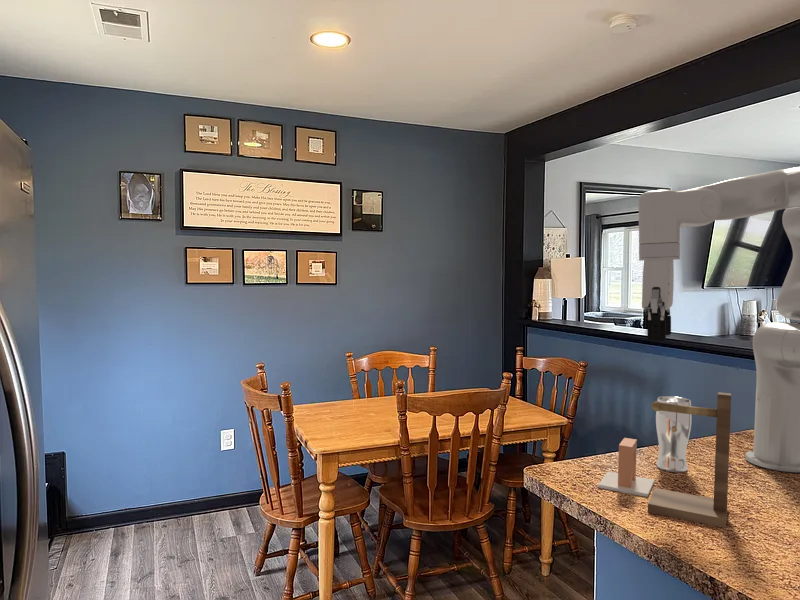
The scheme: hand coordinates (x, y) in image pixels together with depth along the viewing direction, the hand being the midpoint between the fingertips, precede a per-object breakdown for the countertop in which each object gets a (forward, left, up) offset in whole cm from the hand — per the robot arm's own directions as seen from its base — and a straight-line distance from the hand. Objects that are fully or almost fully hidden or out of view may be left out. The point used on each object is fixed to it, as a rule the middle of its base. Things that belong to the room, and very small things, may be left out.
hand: (659, 337), depth 118 cm
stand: (+14, +7, -29) cm, 33 cm away
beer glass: (-10, +2, -29) cm, 31 cm away
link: (+7, -4, -29) cm, 30 cm away
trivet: (+7, -4, -29) cm, 30 cm away
